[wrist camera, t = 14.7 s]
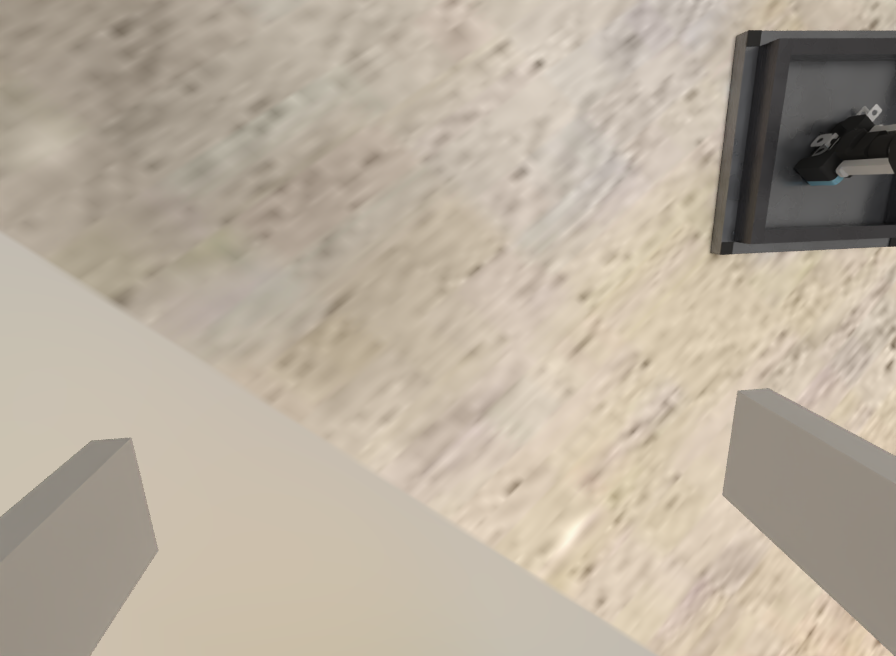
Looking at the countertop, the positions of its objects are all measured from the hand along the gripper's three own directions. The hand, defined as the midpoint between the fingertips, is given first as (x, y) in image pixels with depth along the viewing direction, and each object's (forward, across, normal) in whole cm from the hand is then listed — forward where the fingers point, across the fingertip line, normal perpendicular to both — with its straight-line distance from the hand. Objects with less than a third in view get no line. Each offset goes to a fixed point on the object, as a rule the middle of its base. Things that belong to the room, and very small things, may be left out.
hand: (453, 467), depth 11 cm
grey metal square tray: (+29, +33, +8) cm, 44 cm away
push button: (+28, +33, +8) cm, 44 cm away
